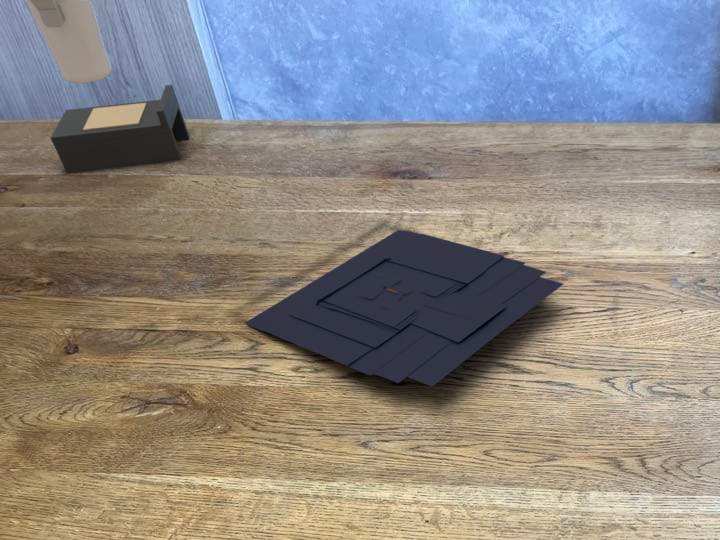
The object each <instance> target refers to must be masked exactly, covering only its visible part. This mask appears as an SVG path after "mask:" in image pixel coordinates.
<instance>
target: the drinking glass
mask: <svg viewBox="0 0 720 540" xmlns="http://www.w3.org/2000/svg"><path fill="white" fill-rule="evenodd" d="M24 1H25V4H26V6H27V8H28V10H29V11H30V13H31V15H32V17H33V19H34V21H35V23H36V25H37V27H38V29H39V31H40V33H41V35H42V37H43V39H44V41H45V43H46V45H47V48H48V49H49V51H50V53H51V54H52V56H53V59H54V61H55V64H56V65H57V68H58V71H59V73H60V75H61V77H62V78H63V79H64V80H65V81H67V82H69V83H73V84H74V83H75V84H85V83H87V84H88V83H93V82H97V81H100V80H102V79H104V78H106V77H108V76H109V75H110V74H111V73H112V67H113V66H112V64H111V60H110V58H109V55H108V53H107V50H106V46H105V43H104V40H103V39H104V38H103V35H102V31H101V28H100V25H99V21H98V19H97V14H96V11H95V7H94V4H93V0H55V2H56V4H57V5H60V7H61V9H62V13H63V15H64V17H65V21H64V23H63V24H62V25H61V26H60V27H50V28H49V27H47V26H45V24H44V23H43V20H42V18H41V16H40V13H39V11H38V10H37V8H36V7H35V6H34V4H33V3H32V2H31V1H30V0H24Z"/></svg>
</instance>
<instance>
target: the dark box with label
mask: <svg viewBox="0 0 720 540" xmlns="http://www.w3.org/2000/svg"><path fill="white" fill-rule="evenodd" d="M190 138H191V137H190V133H189V130H188V127H187V125H186V121H185V117H184V115H183V112H182V109H181V107H180V104H179V101H178V97H177V95H176V92H175V89H174V86H173V84H167V85H164V89H163V91H162V94H161V96H160V99H155V100H147V101H146V100H145V101H144V100H143V101H136V102H128V103H117V104H109V105H100V106H90V107H81V108H72V109H65V111H64V113H63V114H62V116H61V118H60V120H59V121H58V123H57V125H56V127H55V129H54V130H53V133H52V134H51V136H50V140H51V142H52V144H53V147H54V148H55V150H56V153H57V155H58V157H59V160H60V161H61V164H62V166H63V167H64V168H63V169H64V170H65V172H66V174H73V173H82V172H90V171H99V170H100V171H101V170H106V169H107V170H109V169H116V168H124V167H125V168H126V167H134V166H141V165H150V164H158V163H166V162H167V163H168V162H174V161H175V162H176V161H181V160H182V155H181V152H180V149H179V146H178V144H177V142H179V141H187V140H190Z"/></svg>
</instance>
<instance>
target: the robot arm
mask: <svg viewBox="0 0 720 540" xmlns="http://www.w3.org/2000/svg"><path fill="white" fill-rule="evenodd" d="M30 1H31V2H32V3H33V4H34V6H35V7H36V8H37V10H38V11H39V13H40V16H41V18H42V20H43V23H44V24H45V26H47V27H49V28H50V27H60V26H61V25H62V24H63V23H64V21H65V17H64V15H63V13H62V9H61V7H60V5H57V4H56V2H55V0H30Z"/></svg>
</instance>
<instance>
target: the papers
mask: <svg viewBox="0 0 720 540" xmlns="http://www.w3.org/2000/svg"><path fill="white" fill-rule="evenodd" d="M525 264H526V262H523V261H521V260H520V261H519V260H516V259H513V258H509V257H506V256H505V255H504V254H499V253H496V252H492V251H488V250H486V249H481V248H477V247H474V246H469V245H466V244H462V243H459V242H455V241H451V240H447V239H444V238H440V237H436V236H432V235H429V234H425V233H419V232H413V231H410V230H406V229H404V230H401V229H397V230H396V231H394V232H392V233H391V234H389V235H387V236H386V237H384V238H382V239H381V240H379V241H377V242H376V243H374V244H372V245H371V246H369V247H368V248H365V250H363V251H360V252H359V253H357V254H356V255H354V256H353V257H351V258H349V259H347V260H346V261H344V262H342V263H341V264H339V265H337V266H336V267H335V268H333V269H331V270H330V271H328V272H326V273H324V274H323V275H321V276H320V277H318V278H316V279H315V280H313V281H311V282H310V283H308V284H306V285H305V286H303V287H302V288H300V289H298V290H297V291H295V292H293V293H292V294H290V295H288V296H286V297H285V298H283V299H282V300H280V301H278V302H277V303H275V304H273V305H272V306H270V307H268V308H267V309H265V310H264V311H262V312H260V313H259V314H257V315H255V316H254V317H252V318H250V319H248V320H247V321H245V322H244V324H246V325H247V326H249V327H252V328H254V329H257V330H259V331H262V332H263V333H266V334H267V333H268V334H271V335H273V336H275V337H278V338H280V339H281V340H284V341H287V342H289V343H292V344H294V345H296V346H299V347H301V348H304V349H306V350H309V351H311V352H313V353H316V354H318V355H321V356H322V357H324V358H327V359H330V360H332V361H334V362H337V363H339V364H341V365H343V366H345V367H347V368H350V369H353V370H354V371H358V372H360V373H362V374H365V375H368V376H372V375H373V374H374V375H376V376H378V377H381V378H383V379H386V380H388V381H389V380H390V381H392V382H394V383H397V384H399V383H400V382H402V381H403V380H404V379H406V378H408V379H411V380H414V381H417V382H420V383H422V384H425V385H427V386H430V387H434V386H435V385H436V384H437V383H439V382H440V381H441V380H443V379H444V378H445V377H447V375H449V374H450V373H452V372H453V371H454V370H455V369H456V368H458V367H459V366H460V365H461V364H462V363H464V362H465V361H466V360H468V359H469V358H470V357H471V356H473V355H474V354H476V353H477V352H478V351H479V350H480V349H482V348H483V347H484V346H485V345H486V344H488V343H489V342H490V341H491V340H492V339H494V338H495V337H497V336H498V335H499V334H500V333H501V332H503V331H504V330H505V329H507V328H508V327H509V326H510V325H512V324H513V323H515V322H516V321H517V320H518V319H520V318H521V317H522V316H524V315H525V314H527V313H528V312H529V311H530V310H532V309H533V308H534V307H536V306H537V305H538V304H539V303H541V302H542V301H544V300H546V299H547V298H548V297H549V296H550V295H552V294H553V293H554V292H555V291H557V290H558V289H559V288H561V287H562V286H564V283H563V282H559V281H556V280H552V279H549V278H545V277H542V276H543V275H545V274H546V273H547V271H545V270H542V269H539V268H535V267H532V266H528V265H525Z"/></svg>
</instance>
